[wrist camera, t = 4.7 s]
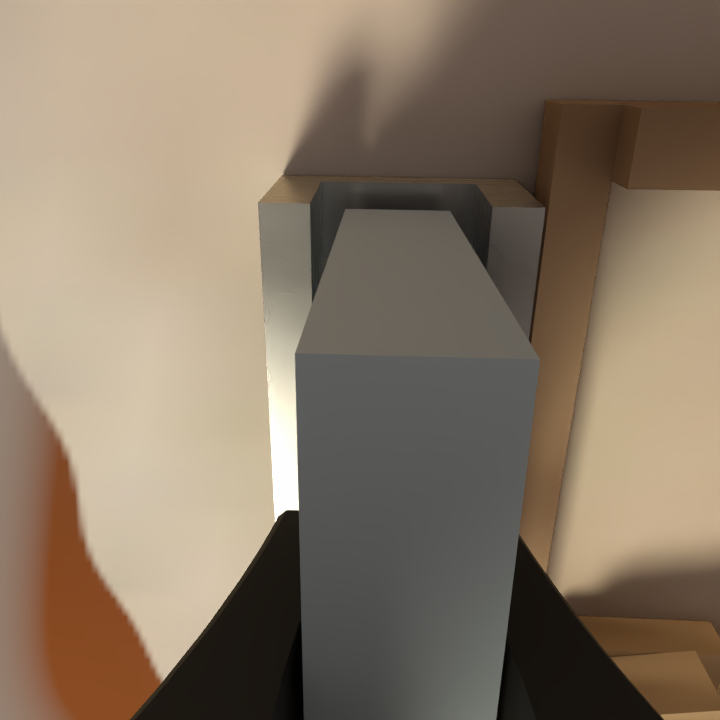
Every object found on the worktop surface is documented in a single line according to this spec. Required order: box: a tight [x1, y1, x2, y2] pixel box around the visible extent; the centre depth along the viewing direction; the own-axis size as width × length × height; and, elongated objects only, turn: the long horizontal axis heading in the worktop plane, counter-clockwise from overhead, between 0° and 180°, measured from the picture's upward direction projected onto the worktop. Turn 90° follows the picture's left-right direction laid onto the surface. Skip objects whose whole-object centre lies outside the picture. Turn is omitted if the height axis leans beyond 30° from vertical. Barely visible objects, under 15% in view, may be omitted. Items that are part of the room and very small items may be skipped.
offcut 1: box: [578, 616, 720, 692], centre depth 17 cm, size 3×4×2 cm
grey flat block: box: [295, 209, 540, 720], centre depth 10 cm, size 2×8×7 cm, turn 179°
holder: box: [258, 175, 545, 522], centre depth 13 cm, size 9×4×3 cm, turn 179°
